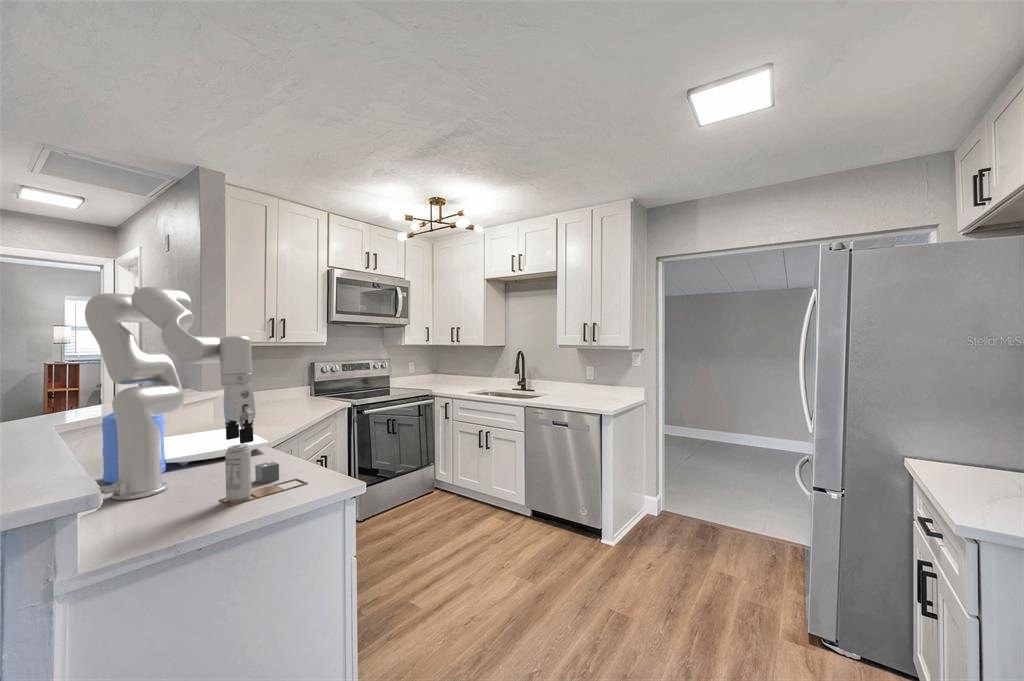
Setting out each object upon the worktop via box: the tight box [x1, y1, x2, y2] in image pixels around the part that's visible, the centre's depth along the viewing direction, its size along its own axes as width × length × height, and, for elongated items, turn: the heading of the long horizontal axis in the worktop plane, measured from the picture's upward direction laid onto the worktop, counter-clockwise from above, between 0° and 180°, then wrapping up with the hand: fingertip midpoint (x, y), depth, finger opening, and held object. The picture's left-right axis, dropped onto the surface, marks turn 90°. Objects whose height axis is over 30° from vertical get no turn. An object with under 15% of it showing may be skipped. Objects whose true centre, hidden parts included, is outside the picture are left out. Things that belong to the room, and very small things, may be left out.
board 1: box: [164, 426, 270, 466], centre depth 173 cm, size 45×32×5 cm
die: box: [254, 461, 280, 484], centre depth 135 cm, size 5×5×5 cm
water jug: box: [101, 411, 167, 484], centre depth 141 cm, size 16×16×28 cm
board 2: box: [218, 478, 309, 507], centre depth 124 cm, size 21×7×1 cm, turn 143°
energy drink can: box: [224, 444, 253, 504], centre depth 119 cm, size 6×6×15 cm
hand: (239, 440), depth 118 cm, fingers open, 9 cm apart
